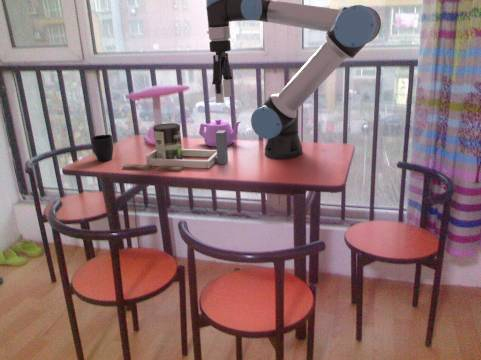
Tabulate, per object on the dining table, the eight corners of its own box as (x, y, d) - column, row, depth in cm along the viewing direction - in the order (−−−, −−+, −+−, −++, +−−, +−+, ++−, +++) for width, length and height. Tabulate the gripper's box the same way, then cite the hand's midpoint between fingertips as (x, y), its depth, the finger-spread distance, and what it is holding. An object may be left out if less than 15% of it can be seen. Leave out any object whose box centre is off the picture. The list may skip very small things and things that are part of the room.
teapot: (237, 149, 179) (236, 123, 175) (194, 147, 185) (192, 122, 181) (246, 141, 191) (246, 117, 187) (206, 139, 197) (204, 116, 193)
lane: (231, 156, 168) (230, 127, 164) (220, 168, 154) (218, 136, 150) (163, 154, 175) (160, 126, 171) (146, 165, 161) (143, 135, 157)
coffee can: (186, 157, 171) (183, 122, 166) (178, 164, 161) (175, 128, 156) (162, 156, 172) (158, 123, 168) (153, 164, 163) (148, 128, 158)
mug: (122, 154, 179) (119, 132, 175) (109, 163, 167) (106, 139, 164) (104, 154, 180) (101, 132, 177) (90, 162, 169) (86, 139, 166)
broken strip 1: (152, 167, 159) (152, 165, 159) (149, 170, 157) (149, 167, 156) (126, 166, 162) (126, 163, 162) (122, 168, 159) (122, 166, 159)
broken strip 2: (183, 168, 156) (183, 166, 156) (180, 171, 153) (180, 168, 153) (161, 167, 158) (161, 165, 158) (157, 170, 156) (157, 167, 155)
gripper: (217, 39, 163) (221, 95, 170) (200, 41, 140) (205, 105, 147) (236, 38, 162) (239, 94, 169) (222, 40, 139) (226, 104, 146)
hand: (224, 99), depth 158 cm, fingers open, 13 cm apart
